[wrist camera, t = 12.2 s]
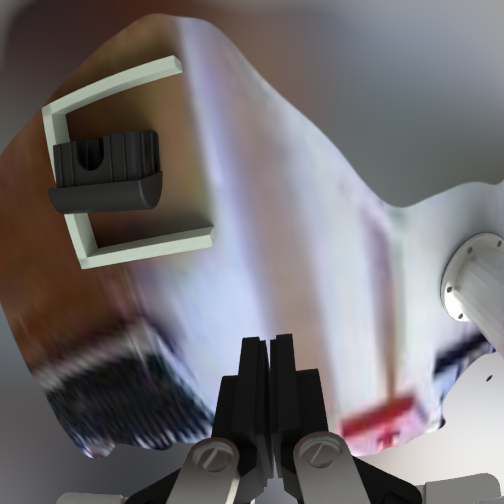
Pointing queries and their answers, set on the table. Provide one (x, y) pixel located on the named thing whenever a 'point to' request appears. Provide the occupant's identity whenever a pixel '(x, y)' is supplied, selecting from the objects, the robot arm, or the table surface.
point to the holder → (80, 222)
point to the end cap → (107, 174)
